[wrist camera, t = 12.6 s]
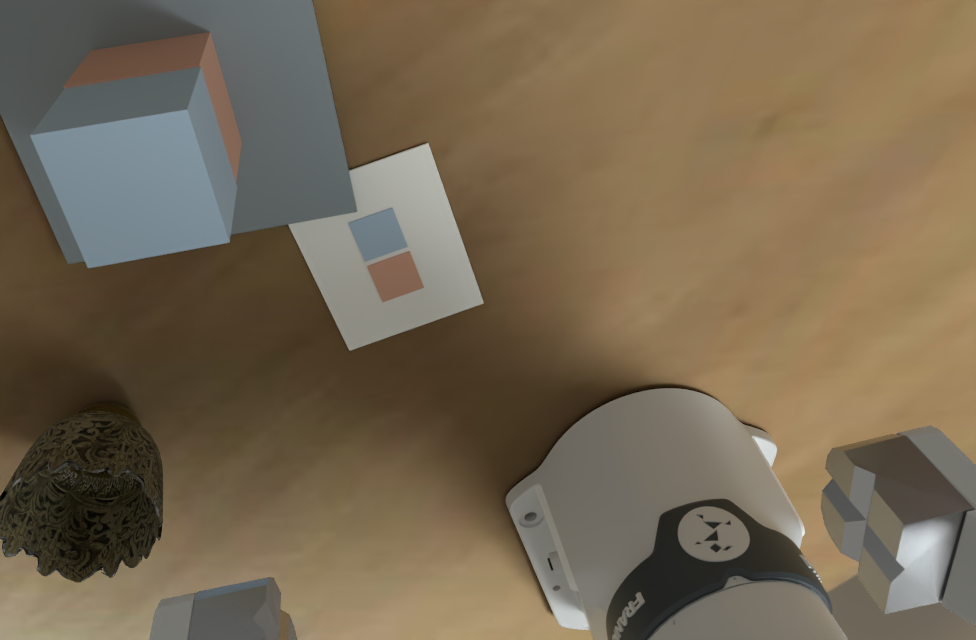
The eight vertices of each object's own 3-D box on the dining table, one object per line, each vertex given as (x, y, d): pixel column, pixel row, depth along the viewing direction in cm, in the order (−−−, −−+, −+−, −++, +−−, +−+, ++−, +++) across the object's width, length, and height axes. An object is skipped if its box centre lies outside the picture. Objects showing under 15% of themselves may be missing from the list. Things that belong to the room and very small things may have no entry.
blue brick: (201, 66, 31) (187, 109, 27) (237, 187, 34) (229, 242, 30) (65, 88, 31) (29, 135, 27) (113, 208, 33) (88, 268, 29)
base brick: (241, 142, 38) (235, 185, 34) (131, 160, 38) (111, 207, 33) (210, 31, 35) (199, 64, 31) (90, 50, 35) (63, 86, 31)
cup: (208, 426, 47) (195, 531, 41) (111, 492, 48) (83, 603, 42) (107, 344, 43) (73, 445, 37) (3, 418, 44) (-47, 528, 38)
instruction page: (483, 302, 46) (484, 303, 46) (349, 349, 46) (349, 351, 46) (427, 142, 41) (428, 143, 41) (275, 196, 41) (274, 197, 40)
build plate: (356, 205, 42) (357, 211, 41) (71, 256, 40) (67, 264, 40) (290, -102, 34) (290, -100, 33) (-66, -52, 32) (-74, -49, 32)
